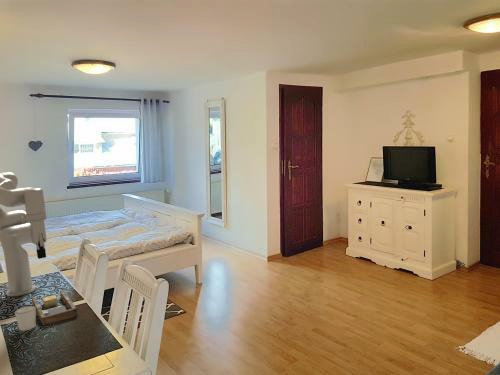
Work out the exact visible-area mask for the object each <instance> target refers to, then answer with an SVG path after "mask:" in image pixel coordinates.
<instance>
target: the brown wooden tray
mask: <svg viewBox="0 0 500 375" xmlns="http://www.w3.org/2000/svg"><path fill="white" fill-rule="evenodd" d="M59 293H60V294H59V295H60V299H61V300H62V302H63V303H64V304H65V306H66V307H67V308H68V309H66V310H65V311H62V312H58V313H55V314H51V315H48V314H47V315H45V314H44V312H43V311H42V308H41V306H40V304H39V302H38V300H37V298H36V297H35V296H34V297H31V303H32V306H34V307H35V309H36V316H38V318H39V320H40V323H41V325H42V326H43V325H44V326H46V325H50V324H53V323H56V322H60V321H64V320H68V319H71V318H74V317H77V316H78V310H77V309H78V308H77V307H76V306H75V305H74V303H73V302H72V300H71V299H70V298H69V296H68V295H67V294H66V293H65V292H64V290H63V289H62V290H59Z"/></svg>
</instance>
